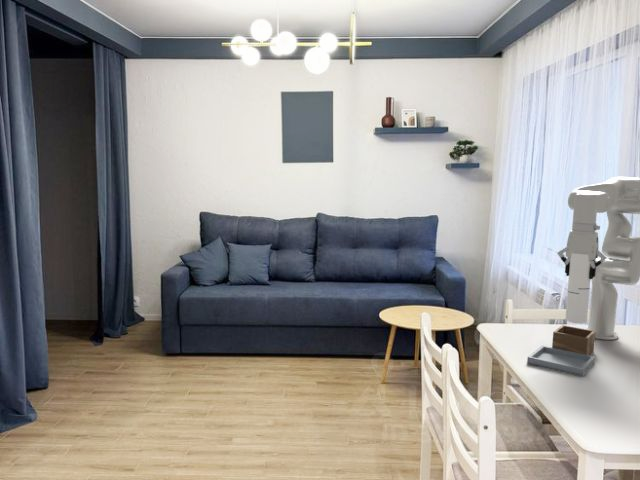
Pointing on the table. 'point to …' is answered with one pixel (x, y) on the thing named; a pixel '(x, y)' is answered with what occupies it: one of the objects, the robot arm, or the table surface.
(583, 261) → the cylindrical container
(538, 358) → the slate tray
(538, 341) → the table surface
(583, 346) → the walnut box
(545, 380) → the table surface
